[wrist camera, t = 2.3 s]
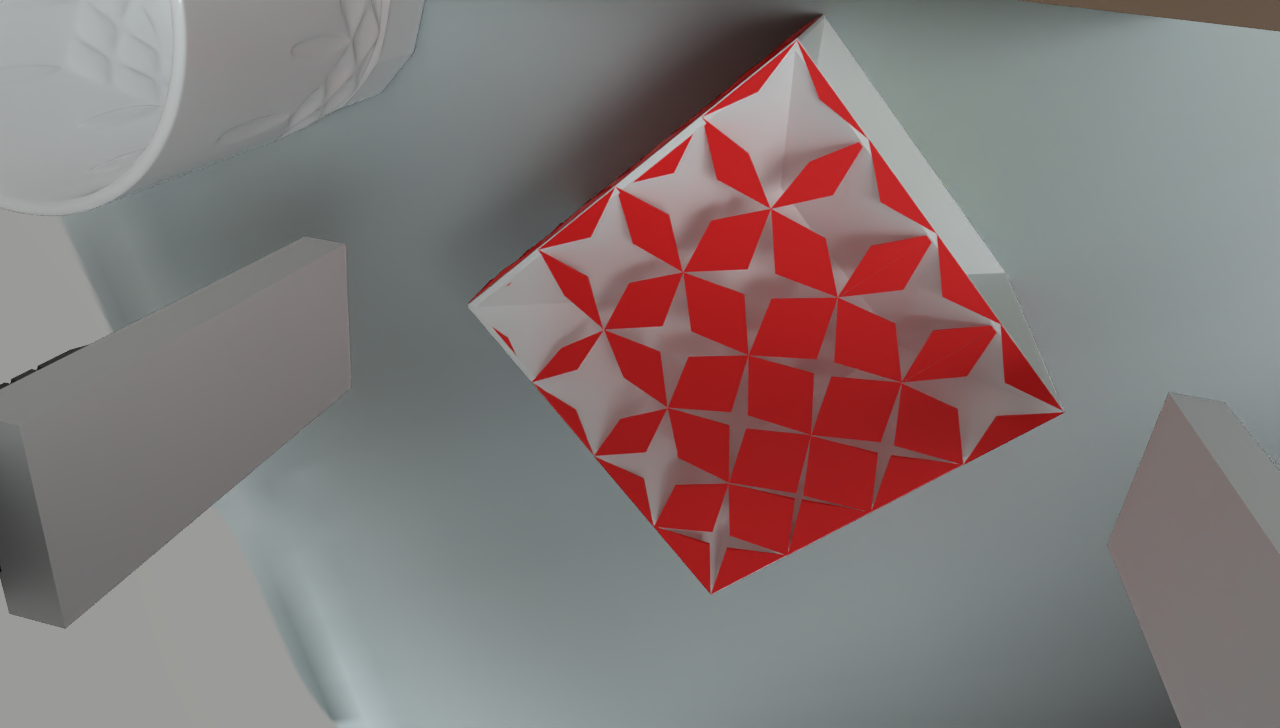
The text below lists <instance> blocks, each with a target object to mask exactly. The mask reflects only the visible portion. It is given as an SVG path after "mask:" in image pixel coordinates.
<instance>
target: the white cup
mask: <svg viewBox="0 0 1280 728" xmlns="http://www.w3.org/2000/svg"><path fill="white" fill-rule="evenodd" d="M424 2H425V0H0V208H3V209H6V210H10V211H13V212H18V213H23V214H30V215H41V216H60V215H70V214H76V213H81V212H85V211H88V210H92V209H95V208H97V207H100V206H103V205H105V204H108V203H110V202H113V201H116V200H118V199H121V198H124V197H126V196H129V195H132V194H134V193H137V192H140V191H142V190H145V189H148V188H150V187H153V186H155V185H158V184H161V183H164V182H166V181H169V180H172V179H174V178H177V177H180V176H183V175H185V174H188V173H191V172H193V171H196V170H199V169H202V168H204V167H207V166H210V165H212V164H215V163H217V162H220V161H222V160H225V159H227V158H230V157H233V156H236V155H238V154H241V153H244V152H246V151H249V150H252V149H255V148H257V147H260V146H263V145H266V144H269V143H272V142H275V141H277V140H279V139H281V138H283V137H285V136H287V135H289V134H291V133H294V132H296V131H298V130H301V129H304V128H307V127H309V126H312V125H313V124H315V123H316V122H317V121H318V120H319V119H320V118H322V117H323V116H325V115H327V114H329V113H331V112H334V111H336V110H339V109H342V108H344V107H347V106H350V105H352V104H355V103H357V102H360V101H363V100H365V99H368V98H371V97H373V96H376V95H379V94H380V93H382V92H383V90H384V89H385V88H386V87H387V85H388V84H389V83H390V82H391V80H392V79H393V78H394V77H395V75H396V74H397V73H398V72H399V70H400V69H401V68H402V67H403V65H404V64H405V63H406V62H407V60H408V59H409V58H410V56H411V55H412V54H413V52H414V49H415V44H416V40H417V35H418V30H419V26H420V21H421V16H422V12H423V7H424Z"/></svg>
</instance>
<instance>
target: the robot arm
mask: <svg viewBox="0 0 1280 728" xmlns="http://www.w3.org/2000/svg"><path fill="white" fill-rule="evenodd" d="M351 388H352V381H351V357H350V333H349V309H348V285H347V261H346V244H345V243H339V242H333V241H328V240H322V239H317V238H311V237H306V236H304V237H302V238H300V239H298V240H296V241H294V242H292V243H290V244H288V245H286V246H284V247H282V248H280V249H278V250H276V251H274V252H272V253H270V254H268V255H266V256H264V257H263V258H261V259H259V260H257V261H255V262H253V263H251V264H249V265H247V266H245V267H243V268H241V269H239V270H237V271H235V272H233V273H231V274H229V275H227V276H225V277H223V278H221V279H219V280H217V281H215V282H213V283H211V284H209V285H207V286H205V287H203V288H201V289H199V290H197V291H195V292H193V293H191V294H189V295H187V296H185V297H183V298H181V299H179V300H177V301H175V302H173V303H171V304H169V305H167V306H165V307H163V308H161V309H159V310H157V311H155V312H153V313H151V314H149V315H147V316H145V317H143V318H141V319H139V320H137V321H135V322H133V323H131V324H129V325H127V326H125V327H123V328H121V329H119V330H117V331H115V332H113V333H111V334H109V335H107V336H106V337H103V338H102V339H100V340H98V341H96V342H94V343H92V344H90V345H86V346H82V347H79V348H75V349H72V350H69V351H67V352H65V353H63V354H61V355H59V356H57V357H55V358H53V359H51V360H49V361H47V362H45V363H43V364H41V365H39V366H38V368H37V370H33V369H31V370H29V371H27V372H25V373H23V374H21V375H19V376H17V377H15V378H13V379H11V383H10V384H9V383H3V384H1V385H0V579H1V583H2V586H3V590H4V594H5V598H6V602H7V606H8V610H9V613H10V614H13V615H17V616H20V617H24V618H28V619H32V620H35V621H39V622H42V623H47V624H50V625H54V626H58V627H61V628H65V629H66V628H67V627H68V626H69V625H70V624H72V623H73V622H74V621H75V620H76V619H78V618H79V617H80V616H81V615H82V614H83V613H85V612H86V611H87V610H88V609H89V608H91V607H92V606H93V605H94V604H95V603H97V602H98V601H99V600H100V599H101V598H102V597H103V596H105V595H106V594H107V593H108V592H110V591H111V590H112V589H113V588H114V587H116V586H117V585H118V584H119V583H120V582H121V581H123V580H124V579H125V578H126V577H127V576H128V575H130V574H131V573H132V572H133V571H134V570H136V569H137V568H138V567H139V566H140V565H142V563H144V562H145V561H146V560H148V559H149V558H150V557H151V556H152V555H154V554H155V553H156V552H157V551H158V550H159V549H161V548H162V547H163V546H164V545H165V544H167V543H168V542H169V541H170V540H171V539H173V538H174V537H175V536H176V535H177V534H178V533H179V532H181V531H182V530H183V529H184V528H186V527H187V526H188V525H189V524H190V523H192V522H193V521H194V520H195V519H196V518H197V517H199V516H200V515H201V514H202V513H203V512H205V511H206V510H207V509H208V508H209V507H211V506H212V505H213V504H214V503H215V502H216V501H218V500H219V499H220V498H221V497H222V496H224V495H225V494H226V493H227V492H228V491H230V490H231V489H232V488H233V487H234V486H235V485H237V484H238V483H239V482H240V481H241V480H243V479H244V478H245V477H246V476H247V475H249V474H250V473H251V472H252V471H253V470H254V469H256V468H257V467H258V466H259V465H260V464H262V463H263V462H264V461H265V460H266V459H268V458H269V457H270V456H271V455H272V454H273V453H275V452H276V451H277V450H278V449H279V448H281V447H282V446H283V445H284V444H285V443H287V442H288V441H289V440H290V439H291V438H292V437H294V436H295V435H296V434H297V433H298V432H300V431H301V430H302V429H303V428H304V427H306V426H307V425H308V424H309V423H310V422H311V421H313V420H314V419H315V418H316V417H317V416H319V415H320V414H321V413H322V412H323V411H325V410H326V409H327V408H328V407H329V406H330V405H332V404H333V403H334V402H335V401H336V400H338V399H339V398H340V397H341V396H342V395H344V394H345V393H346V392H347V391H348V390H349V389H351ZM1107 545H1108V548H1109V550H1110V553H1111V555H1112V558H1113V560H1114V563H1115V565H1116V567H1117V570H1118V572H1119V575H1120V577H1121V580H1122V582H1123V585H1124V587H1125V590H1126V592H1127V595H1128V597H1129V600H1130V602H1131V605H1132V607H1133V609H1134V612H1135V614H1136V617H1137V619H1138V622H1139V624H1140V627H1141V629H1142V632H1143V634H1144V637H1145V639H1146V642H1147V644H1148V647H1149V649H1150V651H1151V654H1152V656H1153V659H1154V661H1155V664H1156V666H1157V669H1158V671H1159V674H1160V676H1161V679H1162V681H1163V684H1164V686H1165V689H1166V691H1167V693H1168V696H1169V698H1170V701H1171V703H1172V706H1173V708H1174V711H1175V713H1176V716H1177V718H1178V721H1179V723H1180V726H1181V728H1280V471H1279V470H1278V469H1277V468H1276V466H1275V465H1274V464H1273V463H1272V461H1271V460H1270V459H1269V457H1268V456H1267V455H1266V454H1265V452H1264V451H1263V450H1262V449H1261V447H1260V446H1259V445H1258V444H1257V442H1256V441H1255V440H1254V439H1253V437H1252V436H1251V435H1250V434H1249V432H1248V431H1247V430H1246V429H1245V427H1244V426H1243V425H1242V423H1241V422H1240V421H1239V420H1238V418H1237V417H1236V416H1235V415H1234V413H1233V412H1232V411H1231V410H1230V408H1229V407H1228V406H1227V405H1226V403H1225V402H1220V401H1214V400H1209V399H1203V398H1197V397H1192V396H1186V395H1181V394H1175V393H1170V392H1169V393H1168V395H1167V398H1166V400H1165V403H1164V405H1163V408H1162V410H1161V412H1160V415H1159V417H1158V420H1157V422H1156V425H1155V427H1154V430H1153V432H1152V435H1151V437H1150V440H1149V442H1148V445H1147V447H1146V450H1145V452H1144V455H1143V457H1142V460H1141V462H1140V465H1139V467H1138V470H1137V472H1136V475H1135V477H1134V480H1133V482H1132V485H1131V487H1130V489H1129V492H1128V494H1127V497H1126V499H1125V502H1124V504H1123V507H1122V509H1121V512H1120V514H1119V517H1118V519H1117V522H1116V524H1115V527H1114V529H1113V532H1112V534H1111V537H1110V539H1109V542H1108V544H1107Z"/></svg>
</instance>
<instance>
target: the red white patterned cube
mask: <svg viewBox="0 0 1280 728" xmlns="http://www.w3.org/2000/svg"><path fill="white" fill-rule="evenodd" d="M819 17H820V16H819ZM819 17H817V18H816V19H814V20H813V21H811V22H809V23H808V24H806V25H805V26H803V27H801V28H800V30H799V31H797V32H795V33H794V34H793V35H792V36H790V37H789V38H788V39H786V40H785V41H784V42H783V43H782V44H781V45H780V46H779V47H778V48H777V49H776V50H774V51H773V52H772V53H771V54H769V55H768V56H767V57H766V58H765V59H763V60H762V61H761V62H760V63H758V64H757V65H755V66H754V67H752V68H751V69H749V70H748V71H747V72H745V73H744V74H743V75H742V76H741V77H740V78H739V79H738V80H737V81H736V82H735V83H734V84H733V85H732V86H731V87H730V88H728V89H727V90H725V91H724V92H723V93H722V94H720V95H719V96H718V97H716V98H715V99H714V100H713V101H712V102H710V103H709V104H708V105H707V106H705V107H704V108H703V109H702V110H701V111H699V112H698V113H697V114H696V115H694V116H693V117H692V118H691V119H689V120H688V121H687V122H686V123H685V124H683V125H682V126H681V127H680V128H679V129H678V130H676V131H675V132H674V133H672V134H671V135H670V136H669V137H668V138H666V139H665V140H663V141H662V142H660V143H659V144H658V145H657V146H656V147H655V148H654V149H653V150H651V151H650V152H649V153H648V154H647V155H645V157H643V158H642V159H640V160H639V161H638V162H637V163H636V164H634V165H633V166H632V167H631V168H629V169H628V170H627V171H626V172H625V173H624V174H622V175H621V176H619V177H618V178H617V179H616V180H615V181H614V182H612V183H611V184H610V185H609V186H607V187H606V188H605V189H604V190H602V191H601V192H600V193H599V194H597V195H596V196H595V197H594V198H593V199H590V200H589V201H588V202H587V203H586V204H585V205H584V206H582V207H581V208H579V209H578V210H577V211H576V212H575V213H574V214H573V215H572V216H570V217H569V218H568V219H567V220H566V221H565V222H563V223H561V224H560V225H559V226H558V227H557V228H555V229H554V230H553V231H552V232H551V233H550V234H549V235H548V236H546V237H545V238H544V239H542V240H541V241H539V242H538V243H537V244H536V245H535V246H534V247H532V248H531V249H530V250H527V251H526V252H525V253H524V254H523V255H522V256H521V257H520V258H519V259H518V260H517V261H516V262H514V263H513V264H511V265H510V266H508V267H507V268H505V269H504V270H502V271H501V272H500V273H499V274H498V275H497V276H496V277H495V278H494V279H492V280H490V281H489V282H488V283H487V284H486V285H485V286H484V287H483V289H482V290H481V291H480V292H479V293H478V294H477V295H476V296H475V297H474V298H476V297H477V296H478V295H479V294H481V293H482V292H483V291H484V290H486V289H487V288H488V287H489V286H490V287H489V288H488V289H487V290H486V291H484V292H483V293H482V294H481V295H479V296H478V297H477V298H476V299H475V300H473V299H474V298H473V299H472V300H473V301H472V300H471V301H472V302H471V301H470V302H471V303H470V302H469V303H470V304H469V305H467V306H468V308H469V309H470V310H471V311H472V312H473V314H474V315H475V316H476V317H477V318H478V319H479V321H480V322H481V323H482V324H483V325H484V327H485V328H486V329H487V330H488V331H489V332H490V334H491V335H492V336H493V337H494V338H495V340H496V341H497V342H498V343H499V344H500V345H501V347H502V348H503V349H504V350H505V351H506V353H507V354H508V355H509V356H510V357H511V358H512V360H513V361H514V362H515V363H516V364H517V366H518V367H519V368H520V369H521V370H522V371H523V373H524V374H525V375H526V376H527V377H528V379H529V380H530V381H531V382H532V383H533V384H534V386H535V387H536V388H537V389H538V390H539V392H540V393H541V394H542V395H543V396H544V398H545V399H546V400H547V401H548V402H549V403H550V405H551V406H552V407H553V408H554V409H555V411H556V412H557V413H558V414H559V415H560V416H561V418H562V419H563V420H564V421H565V422H566V424H567V425H568V426H569V427H570V428H571V429H572V431H573V432H574V433H575V434H576V435H577V437H578V438H579V439H580V440H581V441H582V442H583V444H584V445H585V446H586V447H587V448H588V450H589V451H590V452H591V453H592V454H593V455H594V457H595V458H596V459H597V460H598V461H599V463H600V464H601V465H602V466H603V467H604V469H605V470H606V471H607V472H608V473H609V474H610V476H611V477H612V478H613V479H614V480H615V482H616V483H617V484H618V485H619V486H620V488H621V489H622V490H623V491H624V492H625V493H626V495H627V496H628V497H629V498H630V499H631V501H632V502H633V503H634V504H635V505H636V506H637V508H638V509H639V510H640V511H641V512H642V514H643V515H644V516H645V517H646V518H647V519H648V521H649V522H650V523H651V524H652V525H653V527H654V528H655V529H656V530H657V531H658V533H659V534H660V535H661V536H662V537H663V538H664V540H665V541H666V542H667V543H668V544H669V546H670V547H671V548H672V549H673V550H674V551H675V553H676V554H677V555H678V556H679V557H680V559H681V560H682V561H683V562H684V563H685V564H686V566H687V567H688V568H689V569H690V570H691V572H692V573H693V574H694V575H695V576H696V577H697V579H698V580H699V581H700V582H701V583H702V585H703V586H704V587H705V588H706V589H707V590H708V592H709V593H710V594H711V595H713V594H715V593H717V592H719V591H721V590H723V589H725V588H726V587H728V586H730V585H732V584H734V583H736V582H738V581H740V580H742V579H744V578H746V577H748V576H750V575H752V574H753V573H755V572H757V571H759V570H761V569H763V568H765V567H767V566H769V565H771V564H773V563H775V562H777V561H779V560H780V559H782V558H784V557H786V556H788V555H790V554H792V553H794V552H796V551H798V550H800V549H802V548H804V547H806V546H808V545H809V544H811V543H813V542H815V541H817V540H819V539H821V538H823V537H825V536H827V535H829V534H831V533H833V532H835V531H836V530H838V529H840V528H842V527H844V526H846V525H848V524H850V523H852V522H854V521H856V520H858V519H860V518H862V517H863V516H865V515H867V514H869V513H871V512H873V511H875V510H877V509H879V508H881V507H883V506H885V505H887V504H889V503H891V502H892V501H894V500H896V499H898V498H900V497H902V496H904V495H906V494H908V493H910V492H912V491H914V490H916V489H918V488H919V487H921V486H923V485H925V484H927V483H929V482H931V481H933V480H935V479H937V478H939V477H941V476H943V475H945V474H946V473H948V472H950V471H952V470H954V469H956V468H958V467H960V466H962V465H964V464H966V463H968V462H970V461H972V460H974V459H976V458H978V457H980V456H981V455H983V454H985V453H987V452H989V451H991V450H993V449H995V448H997V447H999V446H1001V445H1003V444H1005V443H1007V442H1009V441H1010V440H1012V439H1014V438H1016V437H1018V436H1020V435H1022V434H1024V433H1026V432H1028V431H1030V430H1032V429H1034V428H1036V427H1037V426H1039V425H1041V424H1043V423H1045V422H1047V421H1049V420H1051V419H1053V418H1055V417H1057V416H1059V415H1061V414H1063V413H1064V412H1065V411H1064V409H1063V406H1062V404H1061V402H1060V399H1059V397H1058V394H1057V392H1056V390H1055V387H1054V385H1053V383H1052V380H1051V378H1050V375H1049V373H1048V371H1047V368H1046V366H1045V363H1044V361H1043V359H1042V356H1041V354H1040V352H1039V349H1038V347H1037V344H1036V342H1035V340H1034V337H1033V335H1032V333H1031V330H1030V328H1029V325H1028V323H1027V321H1026V318H1025V316H1024V313H1023V311H1022V309H1021V306H1020V304H1019V302H1018V299H1017V297H1016V294H1015V292H1014V290H1013V287H1012V285H1011V283H1010V280H1009V278H1008V275H1007V274H1006V273H1005V272H1004V270H1003V269H1002V267H1001V266H1000V264H999V263H998V262H997V260H996V259H995V257H994V256H993V255H992V253H991V252H990V250H989V249H988V247H987V246H986V245H985V243H984V242H983V240H982V239H981V238H980V236H979V235H978V233H977V232H976V230H975V229H974V228H973V226H972V225H971V223H970V222H969V221H968V219H967V218H966V216H965V215H964V213H963V212H962V211H961V209H960V208H959V206H958V205H957V204H956V202H955V201H954V199H953V198H952V196H951V195H950V194H949V192H948V191H947V189H946V188H945V187H944V185H943V184H942V182H941V181H940V179H939V178H938V177H937V175H936V174H935V172H934V171H933V170H932V168H931V167H930V165H929V164H928V162H927V161H926V160H925V158H924V157H923V155H922V154H921V153H920V151H919V150H918V148H917V147H916V145H915V144H914V143H913V141H912V140H911V138H910V137H909V136H908V134H907V133H906V131H905V130H904V128H903V127H902V126H901V124H900V123H899V121H898V120H897V119H896V117H895V116H894V114H893V113H892V111H891V110H890V109H889V107H888V106H887V104H886V103H885V102H884V100H883V99H882V97H881V96H880V94H879V93H878V92H877V90H876V89H875V87H874V86H873V85H872V83H871V82H870V80H869V79H868V77H867V76H866V75H865V73H864V72H863V70H862V69H861V68H860V66H859V65H858V63H857V62H856V60H855V59H854V58H853V56H852V55H851V53H850V52H849V51H848V49H847V48H846V46H845V45H844V43H843V42H842V41H841V39H840V38H839V36H838V35H837V34H836V32H835V31H834V29H833V28H832V26H831V25H830V24H829V22H828V21H827V19H826V18H825V16H824V15H822V16H821V17H820V18H819ZM818 18H819V19H818ZM817 19H818V20H817ZM814 21H815V22H814ZM505 273H506V274H505ZM504 274H505V275H504ZM503 275H504V276H503ZM500 277H501V278H500ZM499 278H500V279H499ZM498 279H499V280H498ZM497 280H498V281H497ZM495 281H496V282H495ZM494 282H495V283H494ZM493 283H494V284H493ZM492 284H493V285H492ZM491 285H492V286H491Z"/></svg>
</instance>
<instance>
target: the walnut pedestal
mask: <svg viewBox="0 0 1280 728" xmlns="http://www.w3.org/2000/svg"><path fill="white" fill-rule="evenodd" d="M1020 1H1029V2H1037V3H1045V4H1054V5H1062V6H1071V7H1079V8H1088V9H1096V10H1104V11H1113V12H1121V13H1130V14H1138V15H1147V16H1155V17H1163V18H1172V19H1180V20H1189V21H1197V22H1206V23H1214V24H1222V25H1231V26H1239V27H1248V28H1256V29H1265V30H1273V31H1280V0H1020Z"/></svg>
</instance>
